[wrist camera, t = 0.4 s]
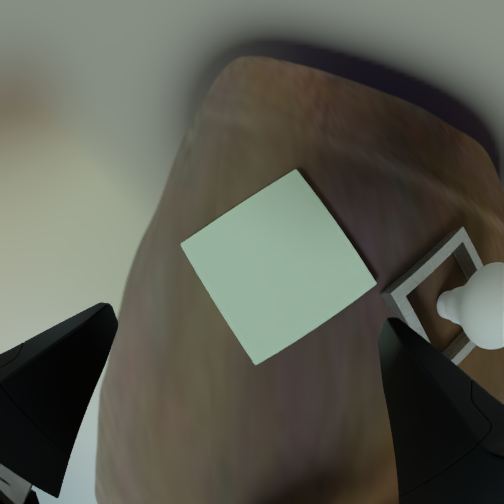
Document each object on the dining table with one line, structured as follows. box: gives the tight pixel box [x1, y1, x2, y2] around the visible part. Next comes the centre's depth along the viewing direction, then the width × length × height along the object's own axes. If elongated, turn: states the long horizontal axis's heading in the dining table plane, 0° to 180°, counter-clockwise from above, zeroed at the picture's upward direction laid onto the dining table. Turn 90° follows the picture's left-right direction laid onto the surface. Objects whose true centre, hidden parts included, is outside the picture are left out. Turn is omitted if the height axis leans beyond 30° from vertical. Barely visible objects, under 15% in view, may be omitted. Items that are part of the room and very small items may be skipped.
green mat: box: [180, 169, 377, 365], centre depth 22 cm, size 12×12×1 cm
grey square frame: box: [380, 227, 484, 365], centre depth 19 cm, size 10×10×2 cm
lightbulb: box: [437, 262, 504, 350], centre depth 15 cm, size 6×6×11 cm
